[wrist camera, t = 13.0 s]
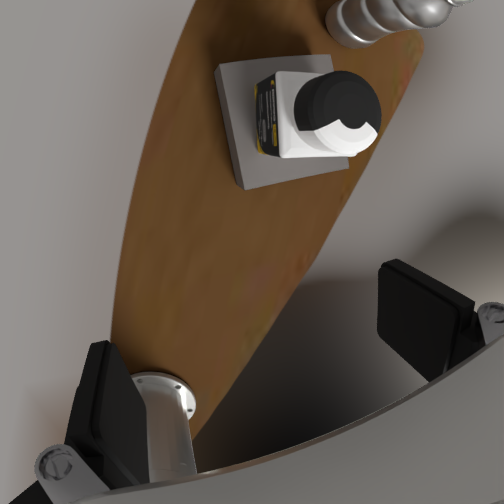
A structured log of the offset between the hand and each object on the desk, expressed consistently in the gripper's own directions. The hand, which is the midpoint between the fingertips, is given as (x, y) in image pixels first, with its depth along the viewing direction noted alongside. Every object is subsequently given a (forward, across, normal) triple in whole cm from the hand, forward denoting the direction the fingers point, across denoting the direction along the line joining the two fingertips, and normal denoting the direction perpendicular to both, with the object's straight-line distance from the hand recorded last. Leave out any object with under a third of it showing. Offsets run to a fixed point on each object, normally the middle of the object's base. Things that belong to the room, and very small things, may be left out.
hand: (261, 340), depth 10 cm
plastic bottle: (+26, -22, -19) cm, 39 cm away
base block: (+26, -11, -8) cm, 29 cm away
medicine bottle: (+22, -11, -8) cm, 26 cm away
